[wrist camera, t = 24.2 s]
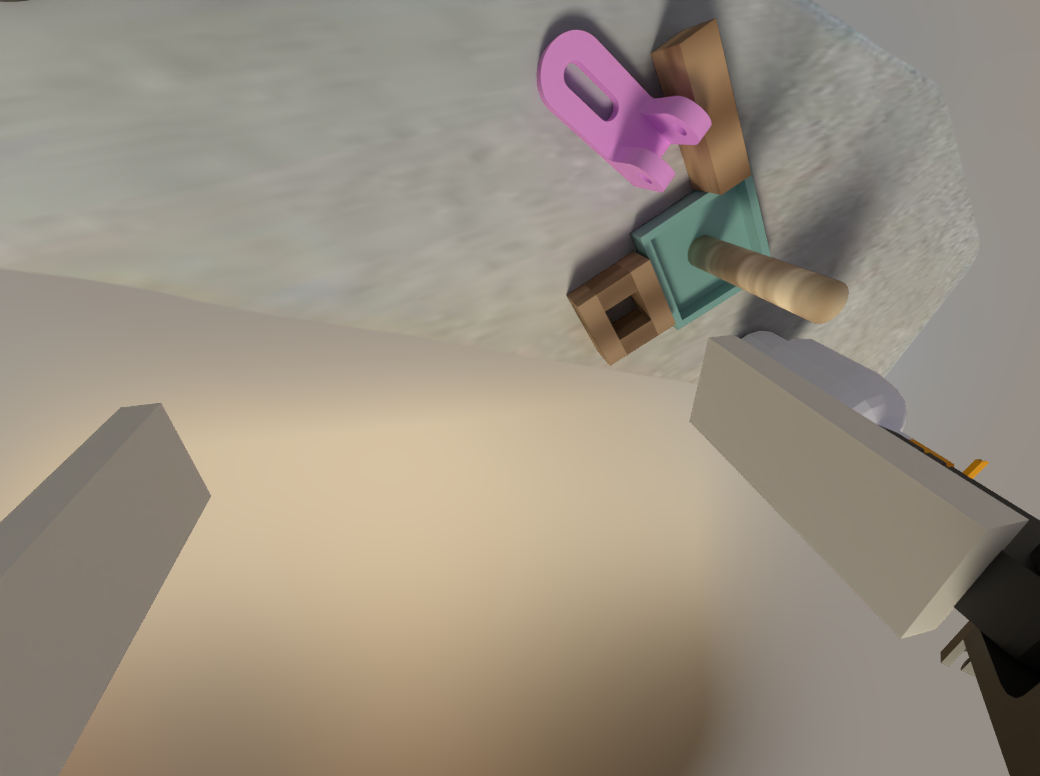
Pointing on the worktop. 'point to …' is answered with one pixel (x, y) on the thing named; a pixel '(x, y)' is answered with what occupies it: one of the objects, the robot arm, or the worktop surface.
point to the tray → (685, 222)
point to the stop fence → (705, 106)
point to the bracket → (618, 111)
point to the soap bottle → (844, 382)
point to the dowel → (771, 279)
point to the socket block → (611, 289)
